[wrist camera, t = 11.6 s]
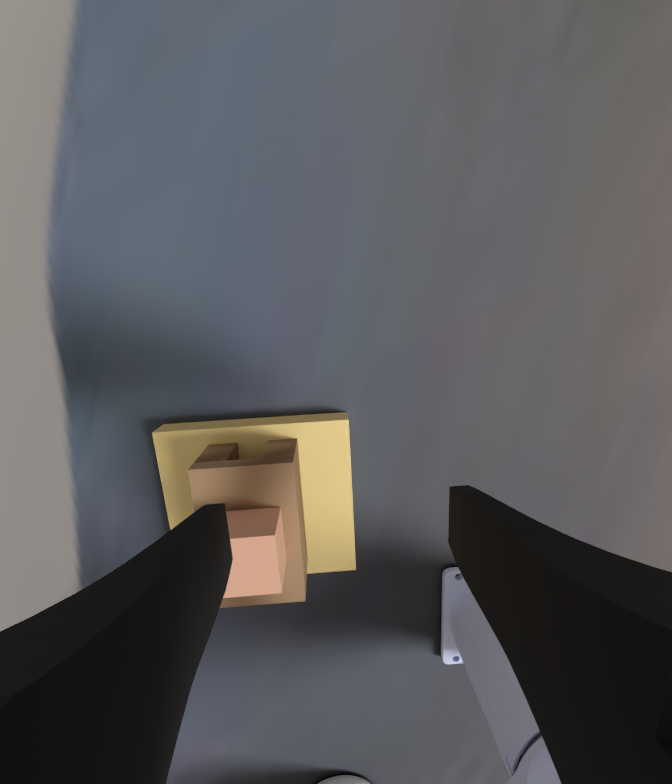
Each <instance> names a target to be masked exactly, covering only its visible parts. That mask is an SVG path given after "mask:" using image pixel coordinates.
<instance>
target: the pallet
mask: <svg viewBox="0 0 672 784" xmlns="http://www.w3.org/2000/svg"><path fill="white" fill-rule="evenodd" d="M188 475H189V481H190V487H191V493H192V499H193V505H194V511H197V510H198V509H199V508H201V507H202V506H204V505H205V504H219V503H225V508H226V511H237V510H249V509H262V508H275V507H281V515H282V524H283V533H284V542H285V551H286V566H285V573H284V580H283V587H282V593H277V594H266V595H254V596H242V597H231V598H223V600H222V602H221V605H220V608H227V607H239V606H251V605H264V604H276V603H288V602H300V601H306V582H307V563H308V557H307V545H306V534H305V522H304V511H303V499H302V488H301V476H300V464H299V453H298V441H297V439H283V440H269V442H268V444H267V447H266V450H265V452H264V455H263V457H262V458H255V459H240V460H239V452H238V444H237V443H224V444H209V445H208V446H207V447H206V449H205V450H204V451H203V452H202V453H201V455H200V456H199V457H198V458H197V459H196V460H195V462H194V463H193V464H192V465H191V466H190V468H189V469H188Z"/></svg>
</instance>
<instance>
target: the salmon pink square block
mask: <svg viewBox="0 0 672 784" xmlns="http://www.w3.org/2000/svg"><path fill="white" fill-rule="evenodd" d="M226 515H227V522H228V529H229V535H230V542H231V549H232V556H233V561H232V565H231V570H230V575H229V579H228V583H227V587H226V591H225V594H224V597H223V598H231V597H242V596H254V595H266V594H277V593H282V587H283V580H284V573H285V566H286V551H285V542H284V533H283V524H282V515H281V507H275V508H262V509H249V510H237V511H226Z"/></svg>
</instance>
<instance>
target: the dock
mask: <svg viewBox="0 0 672 784" xmlns="http://www.w3.org/2000/svg"><path fill="white" fill-rule="evenodd" d="M152 436H153V441H154V446H155V452H156V457H157V462H158V467H159V473H160V478H161V483H162V488H163V494H164V499H165V504H166V510H167V515H168V520H169V525H170V530H172V529H173V528H174V527H176V526H177V525H178V524H179V523H181V522H182V521H183V520H185V519H186V518H187V517H189V516H190V515H191V514H192V513H194V512H195V511H194V505H193V499H192V493H191V487H190V481H189V475H188V469H189V468H190V466H191V465H192V464H193V463H194V462H195V460H196V459H197V458H198V457H199V456H200V455H201V453H202V452H203V451H204V450H205V449H206V447H207V446H208V445H209V444H224V443H237V444H238V452H239V460H240V459H255V458H262V457H263V455H264V452H265V450H266V447H267V444H268V442H269V440H283V439H297V441H298V453H299V464H300V476H301V488H302V499H303V511H304V522H305V534H306V545H307V557H308V563H307V574H311V573H323V572H336V571H349V570H356V559H355V538H354V518H353V498H352V478H351V457H350V437H349V419H348V415H347V412H339V413H324V414H309V415H294V416H279V417H263V418H248V419H233V420H218V421H203V422H188V423H172V424H163V425H162V426H160V427H159V428H158V429H156V430H155V431H154V432H152Z"/></svg>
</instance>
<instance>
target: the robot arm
mask: <svg viewBox="0 0 672 784" xmlns="http://www.w3.org/2000/svg"><path fill="white" fill-rule="evenodd" d="M448 542H449V545H450V548H451V550H452V553H453V555H454V558H455V560H456V563H457V565H458V567H452V568H447V569H445V570H444V571H443V574H442V620H441V658H442V661H443V662H444V663H445V664H458V663H464V666H465V668H466V671H467V673H468V676H469V678H470V681H471V683H472V685H473V688H474V690H475V693H476V695H477V698H478V700H479V703H480V705H481V708H482V710H483V713H484V715H485V718H486V720H487V722H488V725H489V727H490V730H491V732H492V735H493V737H494V740H495V742H496V745H497V747H498V750H499V752H500V755H501V757H502V759H503V762H504V764H505V767H506V769H507V772H508V774H509V777H510V779H509V780H508V781H507V782H505V783H504V784H672V572H668V571H665V570H661V569H658V568H655V567H652V566H649V565H646V564H643V563H640V562H637V561H634V560H631V559H627V558H624V557H621V556H619V555H616V554H613V553H610V552H608V551H605V550H602V549H600V548H597V547H595V546H592V545H590V544H587V543H585V542H582V541H580V540H577V539H575V538H573V537H570V536H568V535H566V534H563V533H561V532H559V531H557V530H555V529H553V528H551V527H549V526H546V525H544V524H542V523H540V522H538V521H536V520H534V519H532V518H530V517H528V516H526V515H524V514H522V513H521V512H519V511H517V510H515V509H513V508H511V507H509V506H508V505H506V504H504V503H502V502H500V501H498V500H496V499H495V498H493V497H491V496H489V495H487V494H485V493H483V492H482V491H480V490H478V489H476V488H474V487H471V486H469V485H466V486H452V487H450V495H449V538H448ZM232 561H233V556H232V549H231V542H230V535H229V529H228V522H227V515H226V508H225V503H219V504H205V505H204V506H202V507H201V508H199V509H198V510H197V511H195V512H194V513H192V514H191V515H190V516H189V517H187V518H186V519H185V520H183V521H182V522H181V523H179V524H178V525H177V526H176V527H174V528H173V529H172V530H170V531H169V532H168V533H166V534H165V535H164V536H162V537H161V538H160V539H158V540H157V541H156V542H154V543H153V544H152V545H150V546H149V547H147V548H146V549H144V550H143V551H142V552H140V553H139V554H137V555H136V556H135V557H133V558H132V559H130V560H129V561H127V562H126V563H125V564H123V565H122V566H120V567H119V568H117V569H115V570H114V571H112V572H111V573H109V574H108V575H106V576H104V577H103V578H101V579H99V580H98V581H96V582H94V583H93V584H91V585H89V586H88V587H86V588H84V589H83V590H81V591H79V592H77V593H76V594H74V595H72V596H70V597H68V598H66V599H64V600H62V601H60V602H59V603H57V604H55V605H53V606H51V607H49V608H47V609H45V610H44V611H41V612H40V613H38V614H36V615H34V616H32V617H30V618H28V619H26V620H24V621H22V622H20V623H18V624H15V625H13V626H11V627H9V628H7V629H5V630H3V631H1V632H0V784H166V780H167V776H168V772H169V768H170V764H171V760H172V756H173V752H174V749H175V745H176V741H177V737H178V733H179V729H180V726H181V722H182V718H183V715H184V711H185V707H186V704H187V700H188V696H189V693H190V689H191V686H192V683H193V680H194V677H195V674H196V671H197V668H198V665H199V662H200V660H201V657H202V654H203V652H204V649H205V646H206V643H207V641H208V638H209V635H210V633H211V630H212V627H213V624H214V622H215V619H216V616H217V614H218V611H219V608H220V605H221V602H222V600H223V597H224V594H225V591H226V587H227V583H228V579H229V575H230V570H231V565H232ZM457 574H459V575H458V576H456V575H457Z"/></svg>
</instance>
